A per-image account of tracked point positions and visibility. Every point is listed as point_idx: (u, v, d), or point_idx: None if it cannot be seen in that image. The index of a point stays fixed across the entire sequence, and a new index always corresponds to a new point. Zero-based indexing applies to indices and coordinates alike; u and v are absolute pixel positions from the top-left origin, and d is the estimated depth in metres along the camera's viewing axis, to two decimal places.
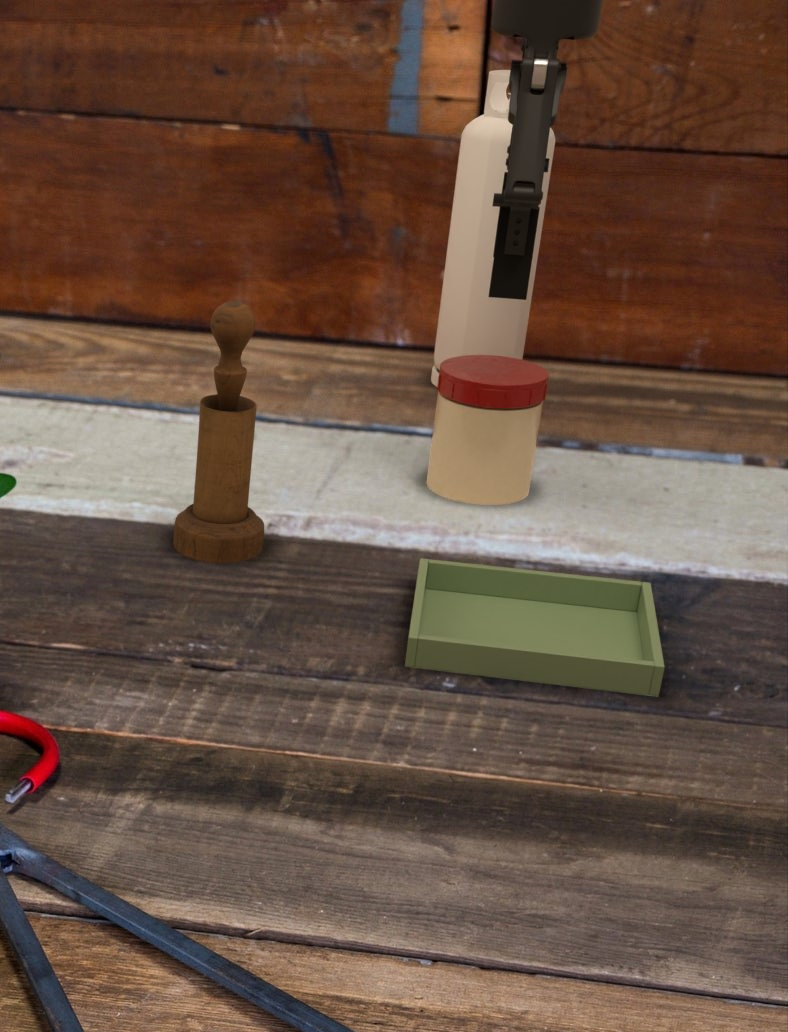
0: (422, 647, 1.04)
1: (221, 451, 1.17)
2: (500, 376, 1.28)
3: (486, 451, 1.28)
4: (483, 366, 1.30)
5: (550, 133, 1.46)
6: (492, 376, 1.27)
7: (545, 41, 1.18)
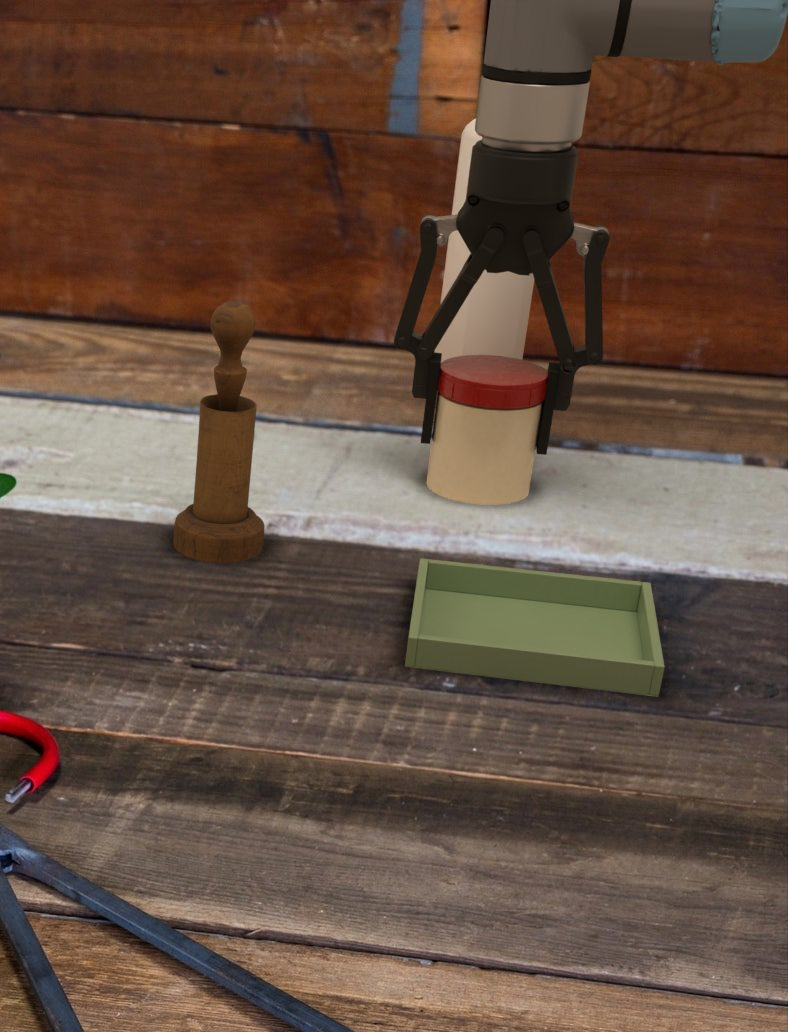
0: (422, 647, 1.04)
1: (221, 451, 1.17)
2: (500, 376, 1.28)
3: (486, 451, 1.28)
4: (483, 366, 1.30)
5: None
6: (492, 376, 1.27)
7: (466, 195, 1.24)
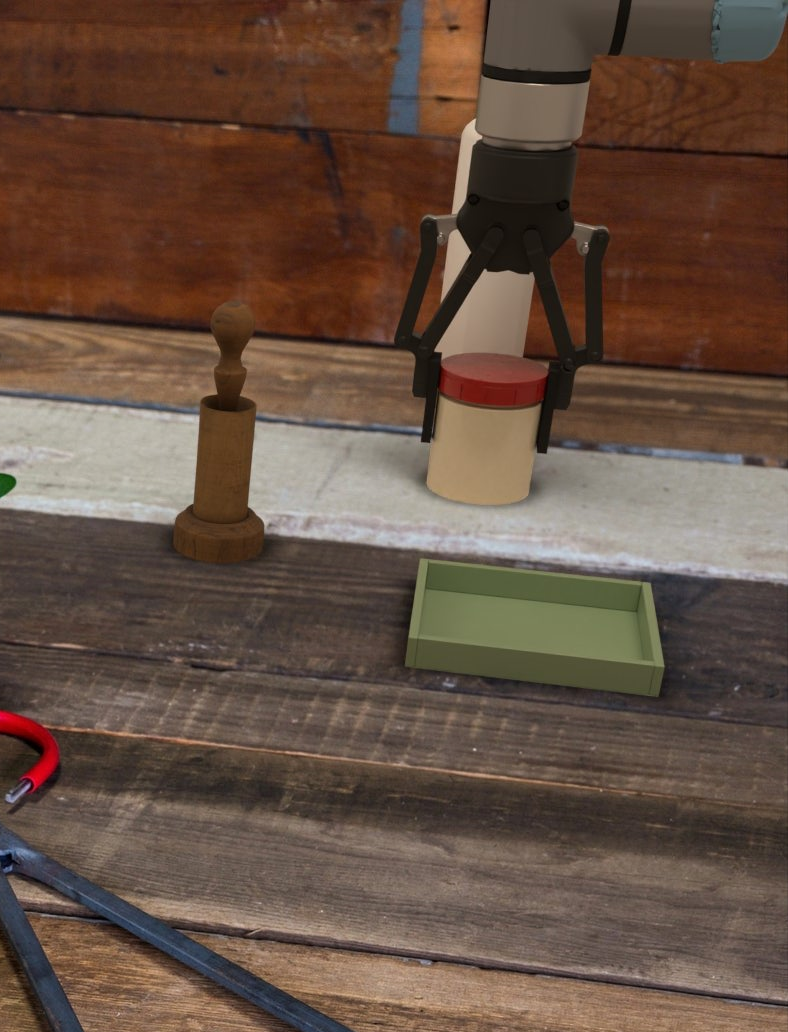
0: (422, 647, 1.04)
1: (221, 451, 1.17)
2: (508, 362, 1.30)
3: (486, 451, 1.28)
4: (494, 370, 1.28)
5: None
6: (516, 364, 1.30)
7: (466, 194, 1.24)
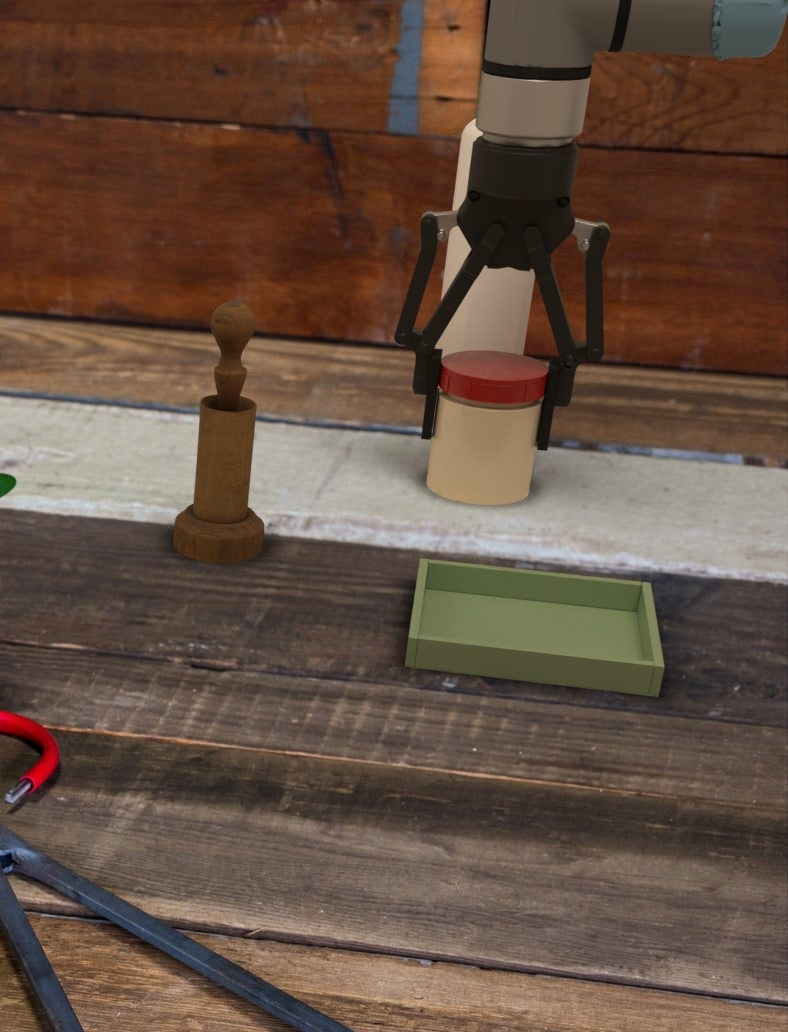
0: (422, 647, 1.04)
1: (221, 451, 1.17)
2: (470, 363, 1.29)
3: (486, 451, 1.28)
4: (504, 363, 1.30)
5: None
6: (468, 361, 1.30)
7: None
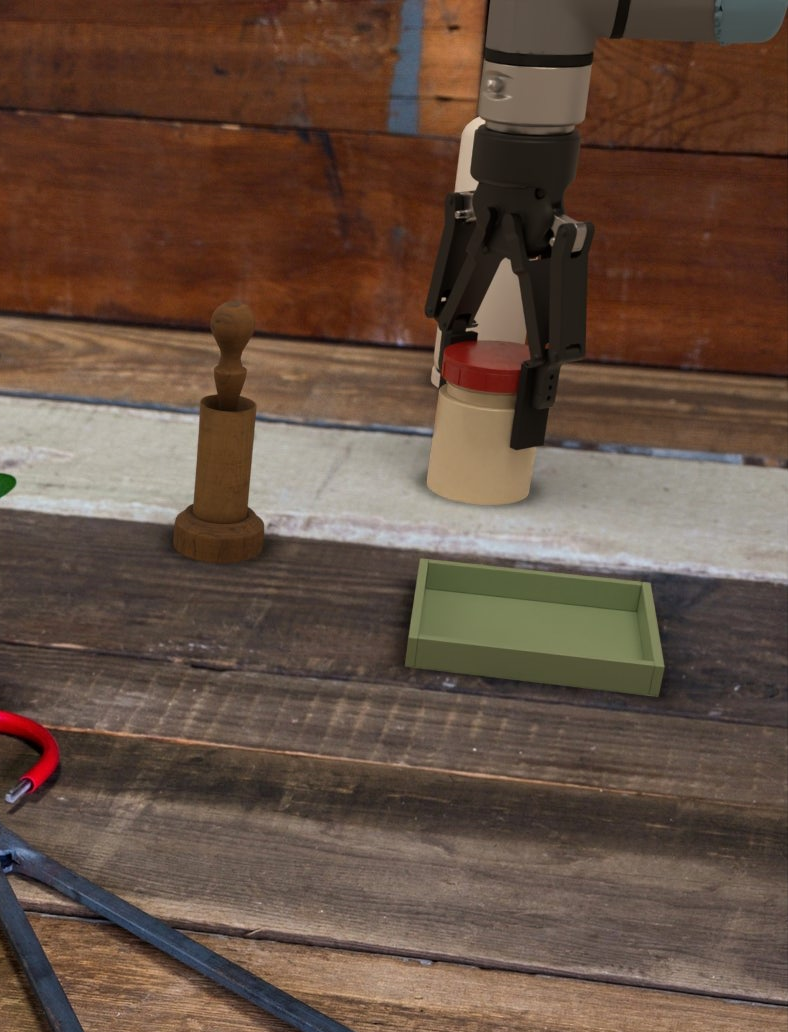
0: (422, 647, 1.04)
1: (221, 451, 1.17)
2: (516, 360, 1.27)
3: (487, 451, 1.28)
4: (484, 353, 1.29)
5: None
6: (512, 361, 1.27)
7: (558, 190, 1.20)
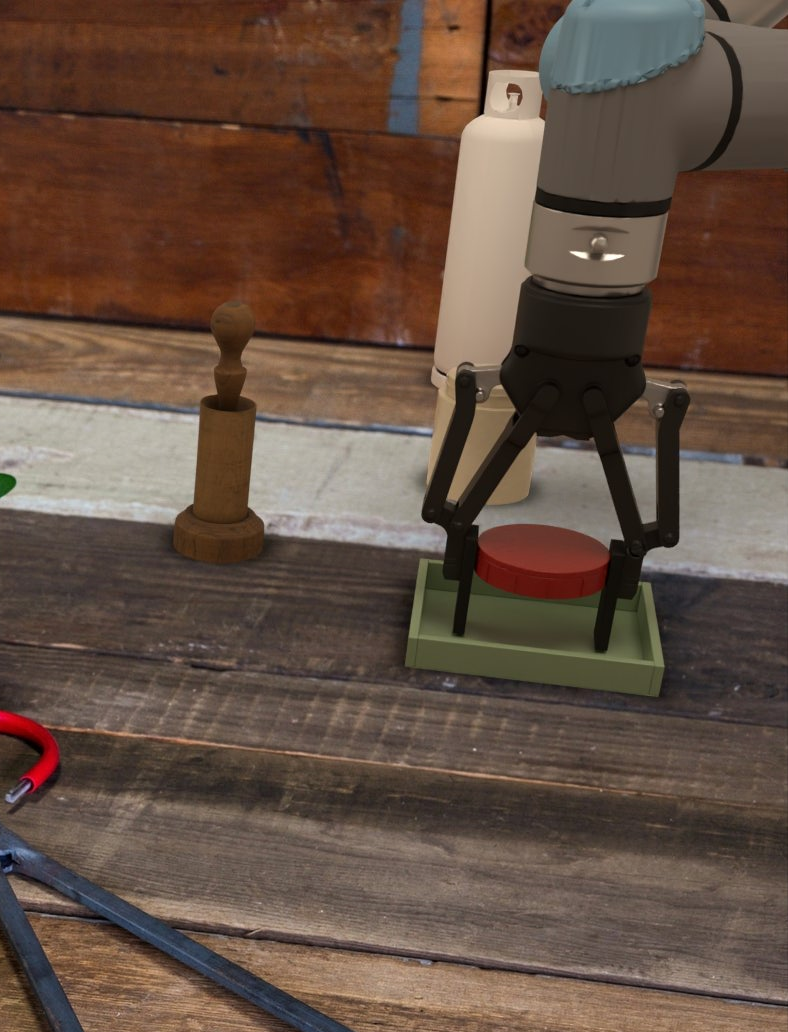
0: (422, 647, 1.04)
1: (221, 451, 1.17)
2: (573, 549, 1.06)
3: (486, 451, 1.28)
4: (531, 550, 1.05)
5: None
6: (576, 553, 1.05)
7: None
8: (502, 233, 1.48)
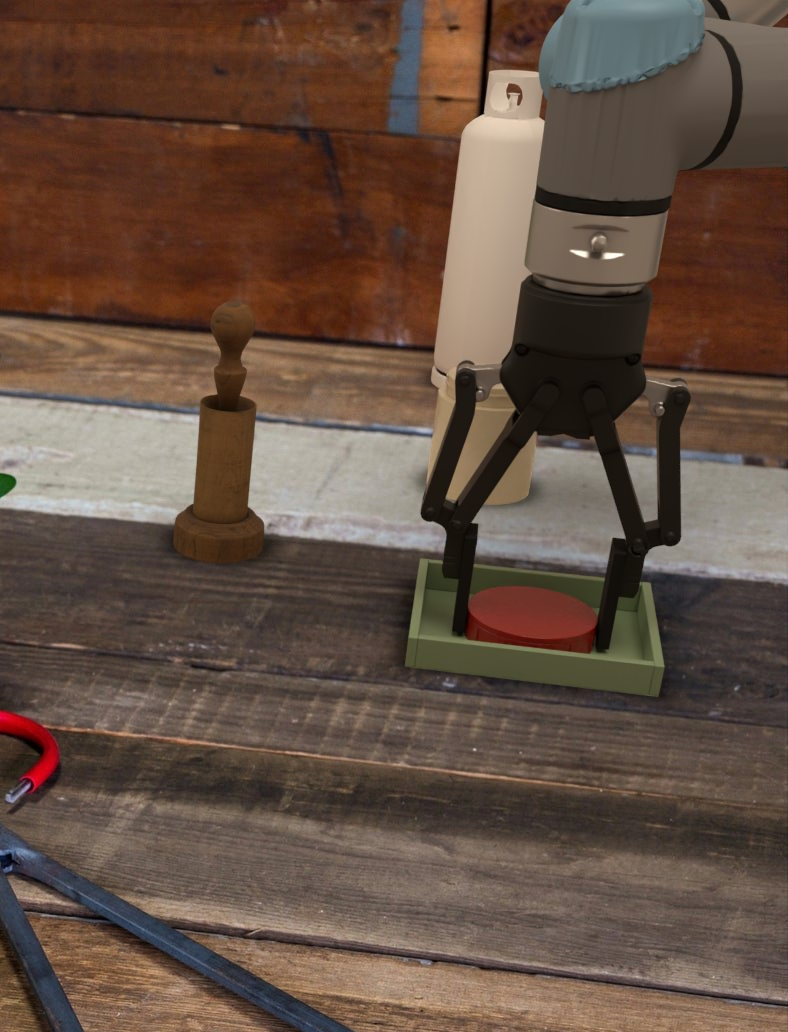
0: (422, 647, 1.04)
1: (221, 451, 1.17)
2: (561, 613, 1.08)
3: (486, 451, 1.28)
4: (520, 614, 1.08)
5: None
6: (564, 617, 1.07)
7: None
8: (502, 233, 1.48)
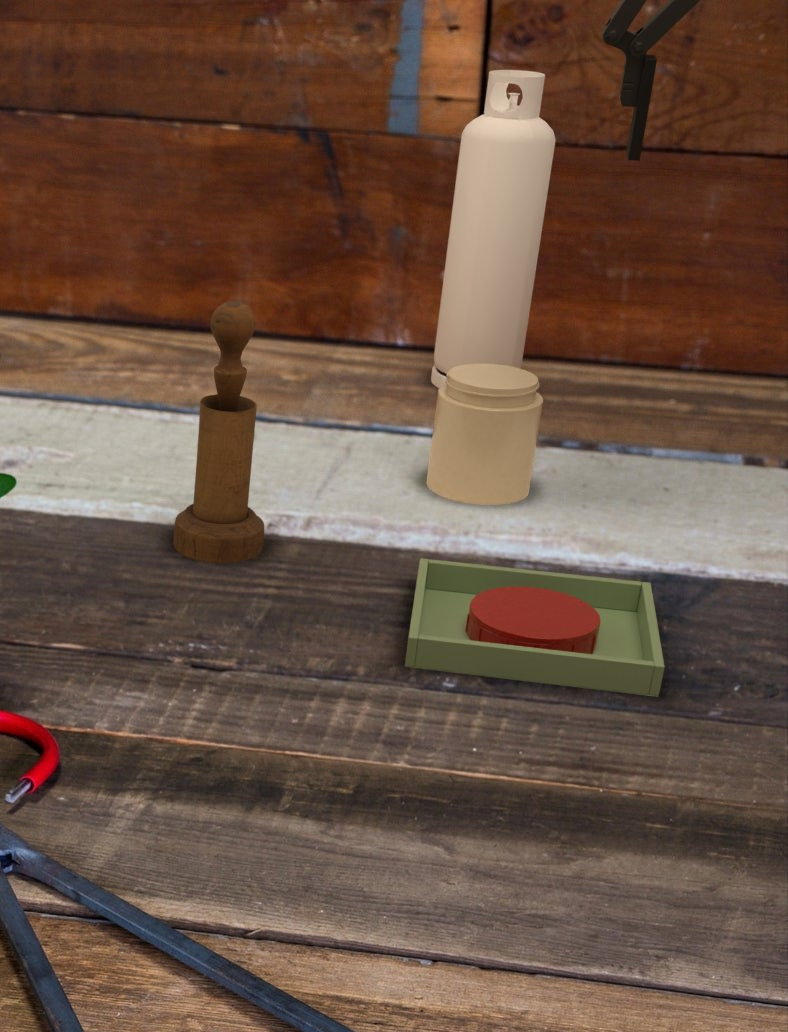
0: (422, 647, 1.04)
1: (221, 451, 1.17)
2: (564, 613, 1.08)
3: (486, 451, 1.28)
4: (523, 614, 1.08)
5: (550, 133, 1.46)
6: (567, 617, 1.07)
7: None
8: (502, 233, 1.48)
